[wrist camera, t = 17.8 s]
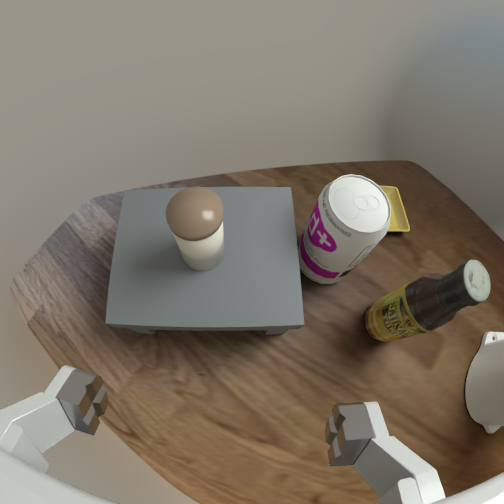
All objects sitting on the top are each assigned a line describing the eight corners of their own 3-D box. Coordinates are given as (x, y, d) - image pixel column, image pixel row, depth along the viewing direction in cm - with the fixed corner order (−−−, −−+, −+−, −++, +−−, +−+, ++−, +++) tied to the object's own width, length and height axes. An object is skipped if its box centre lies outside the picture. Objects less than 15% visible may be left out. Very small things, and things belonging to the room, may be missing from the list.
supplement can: (301, 289, 40) (334, 242, 27) (290, 235, 44) (314, 170, 30) (355, 282, 41) (405, 235, 27) (341, 230, 44) (380, 169, 31)
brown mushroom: (225, 230, 32) (223, 186, 25) (225, 271, 30) (222, 236, 23) (182, 230, 32) (168, 187, 25) (179, 272, 30) (162, 237, 23)
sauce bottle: (354, 319, 39) (438, 269, 21) (382, 292, 41) (466, 230, 23) (382, 354, 37) (480, 326, 19) (408, 325, 39) (503, 281, 21)
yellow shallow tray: (405, 236, 45) (411, 231, 43) (360, 237, 45) (365, 231, 43) (392, 193, 49) (397, 186, 47) (349, 191, 48) (353, 183, 46)
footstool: (279, 227, 44) (290, 187, 35) (287, 337, 38) (304, 324, 28) (144, 228, 43) (124, 190, 34) (135, 337, 36) (105, 323, 27)
